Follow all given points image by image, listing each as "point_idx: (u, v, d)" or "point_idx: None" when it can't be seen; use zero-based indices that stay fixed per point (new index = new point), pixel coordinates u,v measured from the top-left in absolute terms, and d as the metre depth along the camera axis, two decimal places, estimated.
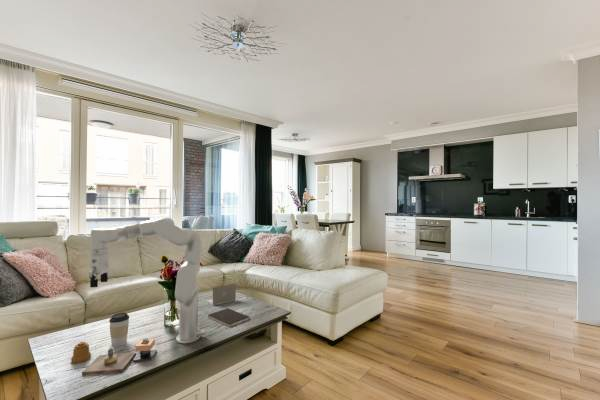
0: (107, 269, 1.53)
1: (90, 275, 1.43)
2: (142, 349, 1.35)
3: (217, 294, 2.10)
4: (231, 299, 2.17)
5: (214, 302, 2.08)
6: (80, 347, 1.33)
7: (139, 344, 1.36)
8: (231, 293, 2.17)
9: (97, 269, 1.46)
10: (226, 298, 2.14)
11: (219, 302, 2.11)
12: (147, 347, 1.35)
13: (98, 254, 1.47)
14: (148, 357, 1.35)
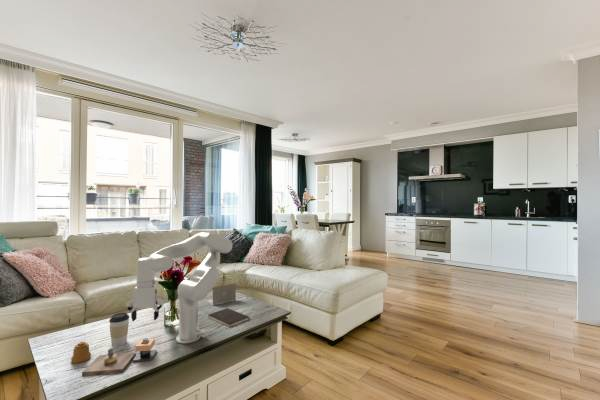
0: None
1: (162, 304, 1.39)
2: (142, 349, 1.35)
3: (217, 294, 2.09)
4: (231, 299, 2.16)
5: (214, 302, 2.08)
6: (80, 347, 1.33)
7: (139, 344, 1.36)
8: (231, 293, 2.16)
9: None
10: (226, 298, 2.14)
11: (219, 302, 2.10)
12: (147, 347, 1.35)
13: (154, 284, 1.40)
14: (148, 357, 1.35)
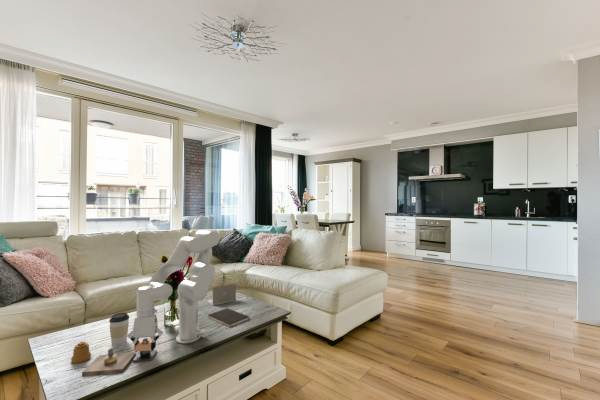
0: None
1: (160, 335, 1.39)
2: (142, 349, 1.35)
3: (217, 294, 2.09)
4: (231, 299, 2.16)
5: (214, 302, 2.08)
6: (80, 347, 1.33)
7: (139, 344, 1.36)
8: (231, 293, 2.16)
9: (157, 327, 1.40)
10: (226, 298, 2.14)
11: (219, 302, 2.10)
12: (147, 347, 1.35)
13: None
14: (148, 357, 1.35)
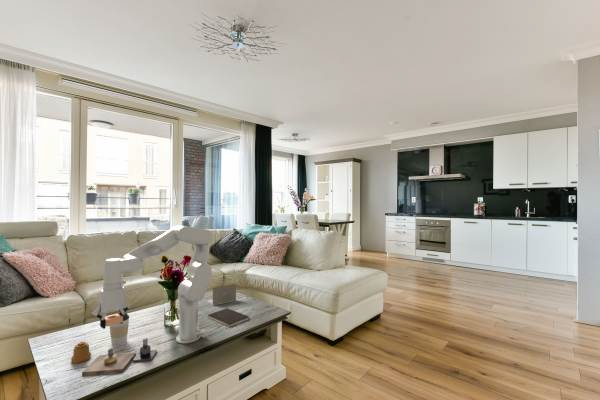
0: None
1: None
2: (114, 322, 1.29)
3: (217, 294, 2.09)
4: (231, 299, 2.16)
5: (214, 302, 2.08)
6: (80, 347, 1.33)
7: (109, 319, 1.29)
8: (231, 293, 2.16)
9: None
10: (226, 298, 2.14)
11: (219, 302, 2.10)
12: (120, 319, 1.31)
13: None
14: (148, 357, 1.35)
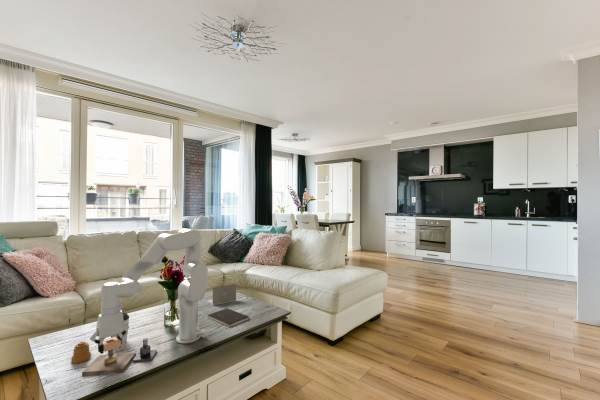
0: None
1: None
2: (112, 347, 1.29)
3: (217, 294, 2.09)
4: (231, 299, 2.16)
5: (214, 302, 2.08)
6: (80, 347, 1.34)
7: (107, 344, 1.28)
8: (231, 293, 2.16)
9: None
10: (226, 298, 2.13)
11: (219, 302, 2.10)
12: (118, 343, 1.31)
13: None
14: (148, 357, 1.35)
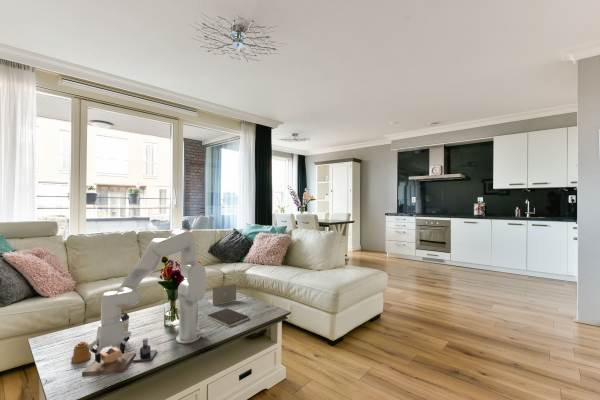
0: None
1: None
2: (113, 358, 1.29)
3: (217, 294, 2.09)
4: (231, 299, 2.16)
5: (214, 302, 2.08)
6: (80, 347, 1.34)
7: (107, 354, 1.28)
8: (231, 293, 2.16)
9: None
10: (226, 298, 2.13)
11: (219, 302, 2.10)
12: (118, 354, 1.31)
13: None
14: (148, 357, 1.35)
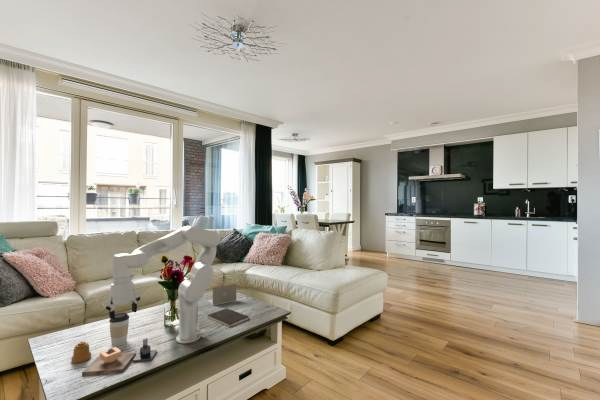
0: None
1: None
2: (113, 358, 1.29)
3: (217, 294, 2.09)
4: (232, 299, 2.16)
5: (214, 302, 2.08)
6: (80, 347, 1.34)
7: (107, 354, 1.28)
8: (232, 293, 2.15)
9: None
10: (226, 298, 2.13)
11: (219, 302, 2.10)
12: (118, 354, 1.31)
13: None
14: (148, 357, 1.35)
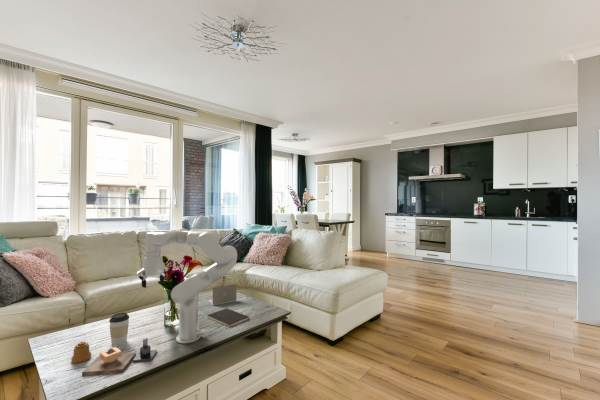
0: None
1: None
2: (113, 358, 1.29)
3: (217, 294, 2.09)
4: (232, 300, 2.15)
5: (214, 302, 2.08)
6: (80, 347, 1.34)
7: (107, 354, 1.28)
8: (232, 294, 2.15)
9: None
10: (226, 298, 2.13)
11: (219, 302, 2.10)
12: (118, 354, 1.31)
13: None
14: (148, 357, 1.35)
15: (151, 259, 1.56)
